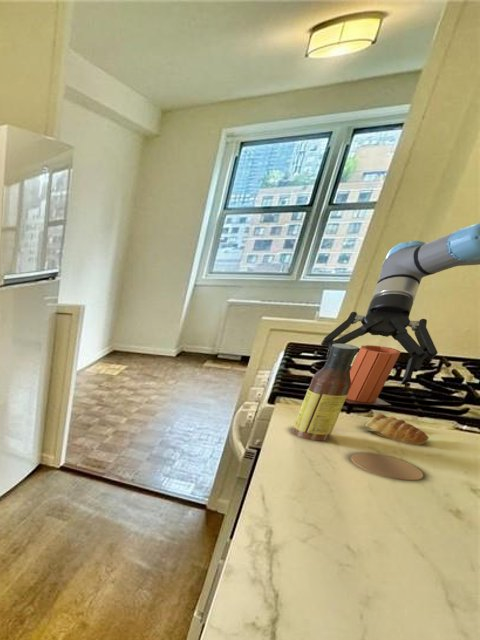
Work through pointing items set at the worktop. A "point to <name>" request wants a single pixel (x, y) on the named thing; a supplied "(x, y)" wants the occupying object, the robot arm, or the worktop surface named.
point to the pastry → (396, 430)
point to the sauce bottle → (326, 395)
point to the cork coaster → (387, 466)
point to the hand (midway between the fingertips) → (366, 376)
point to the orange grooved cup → (371, 372)
